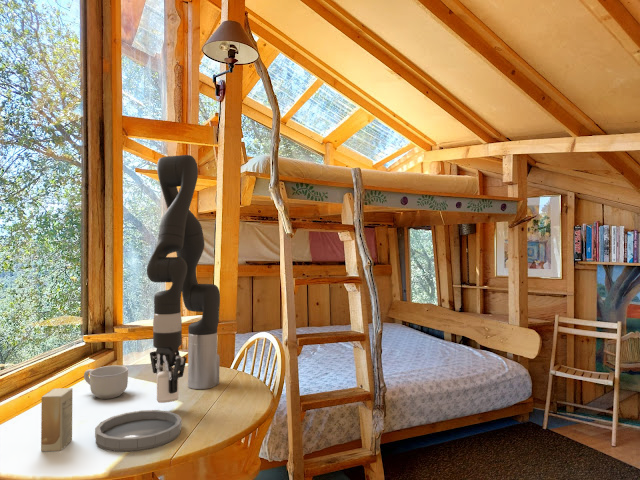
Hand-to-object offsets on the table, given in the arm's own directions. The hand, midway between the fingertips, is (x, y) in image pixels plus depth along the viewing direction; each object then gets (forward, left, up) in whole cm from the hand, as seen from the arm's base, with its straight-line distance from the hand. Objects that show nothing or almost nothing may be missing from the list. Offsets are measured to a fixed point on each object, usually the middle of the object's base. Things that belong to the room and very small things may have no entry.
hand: (167, 390), depth 132 cm
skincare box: (+30, +1, -6) cm, 30 cm away
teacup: (+4, -27, -6) cm, 28 cm away
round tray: (+15, +10, -5) cm, 18 cm away
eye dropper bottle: (0, 0, -3) cm, 3 cm away
